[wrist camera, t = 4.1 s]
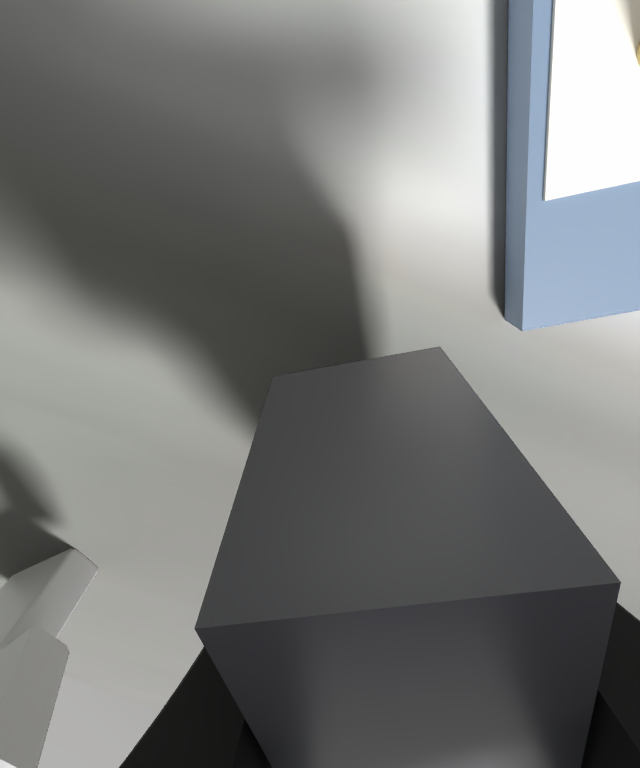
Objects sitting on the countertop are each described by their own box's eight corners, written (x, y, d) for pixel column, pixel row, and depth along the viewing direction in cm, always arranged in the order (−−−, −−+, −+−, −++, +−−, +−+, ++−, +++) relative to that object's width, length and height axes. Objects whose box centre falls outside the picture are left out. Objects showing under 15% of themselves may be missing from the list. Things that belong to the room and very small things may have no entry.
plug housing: (439, 346, 9) (621, 582, 3) (455, 576, 12) (557, 876, 7) (273, 376, 9) (194, 628, 4) (333, 590, 13) (337, 883, 7)
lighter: (38, 597, 19) (-145, 849, 11) (10, 576, 18) (-204, 830, 11) (149, 548, 17) (18, 807, 10) (123, 523, 16) (-38, 781, 9)
